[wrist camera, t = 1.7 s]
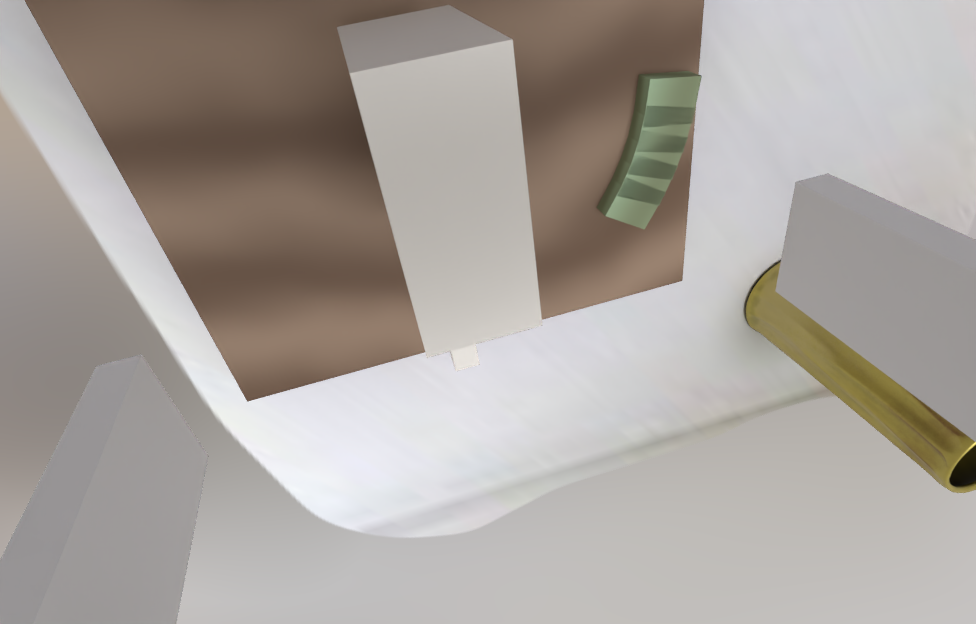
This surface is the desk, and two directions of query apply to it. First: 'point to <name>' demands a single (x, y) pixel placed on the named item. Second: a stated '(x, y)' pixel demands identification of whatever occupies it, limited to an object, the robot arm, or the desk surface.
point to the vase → (864, 388)
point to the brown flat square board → (349, 165)
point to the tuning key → (450, 172)
